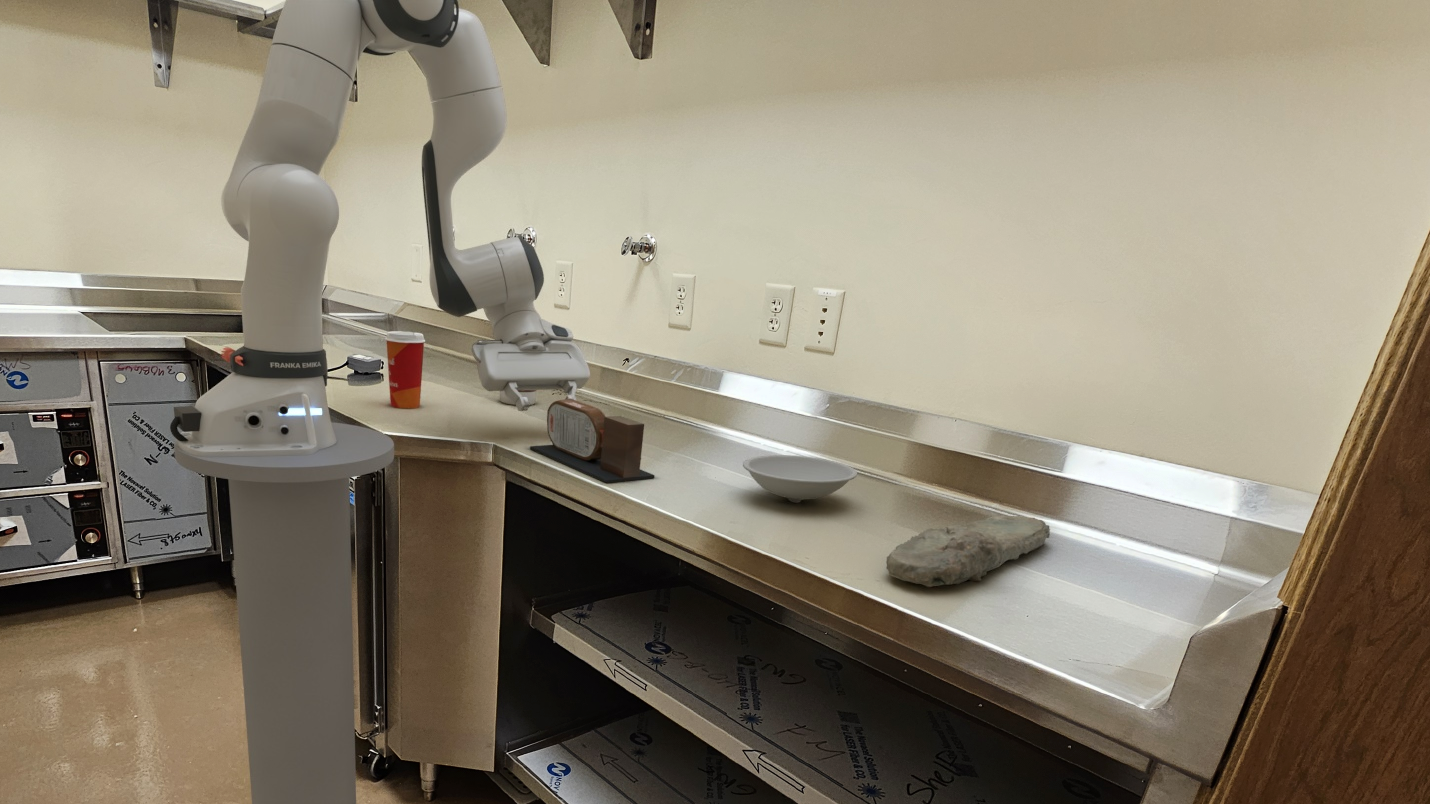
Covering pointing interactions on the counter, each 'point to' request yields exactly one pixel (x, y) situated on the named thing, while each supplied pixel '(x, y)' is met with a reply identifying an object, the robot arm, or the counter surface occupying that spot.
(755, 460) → the dish
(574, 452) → the tin
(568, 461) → the mat
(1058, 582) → the counter surface
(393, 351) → the paper cup
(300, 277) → the robot arm
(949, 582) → the long grey stone
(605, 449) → the brown rectangular block
